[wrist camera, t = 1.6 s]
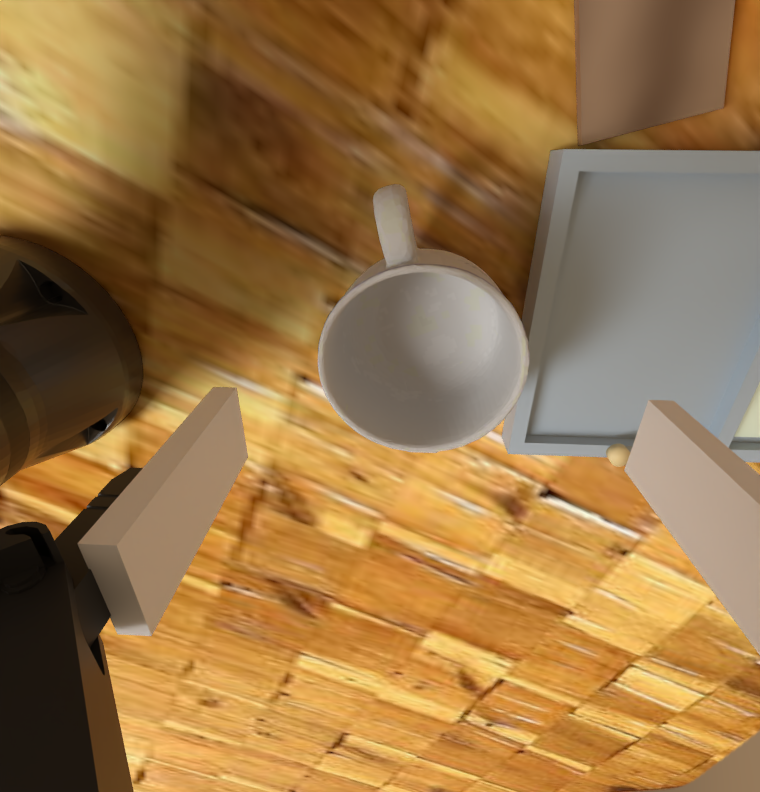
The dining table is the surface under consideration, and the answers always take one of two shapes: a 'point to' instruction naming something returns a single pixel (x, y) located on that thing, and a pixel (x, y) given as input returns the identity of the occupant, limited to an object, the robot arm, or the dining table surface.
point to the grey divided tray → (642, 301)
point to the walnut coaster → (648, 62)
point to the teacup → (421, 344)
